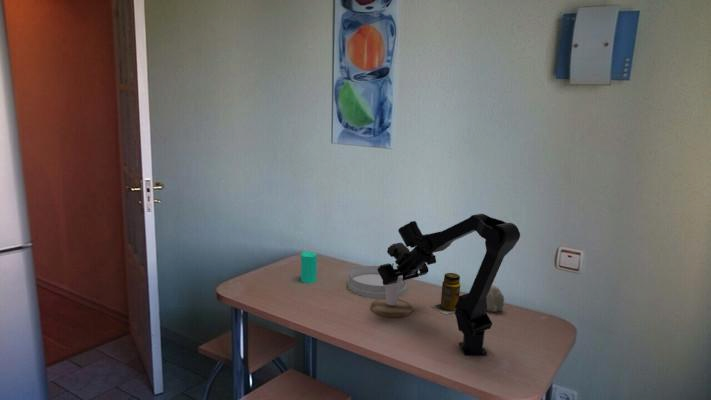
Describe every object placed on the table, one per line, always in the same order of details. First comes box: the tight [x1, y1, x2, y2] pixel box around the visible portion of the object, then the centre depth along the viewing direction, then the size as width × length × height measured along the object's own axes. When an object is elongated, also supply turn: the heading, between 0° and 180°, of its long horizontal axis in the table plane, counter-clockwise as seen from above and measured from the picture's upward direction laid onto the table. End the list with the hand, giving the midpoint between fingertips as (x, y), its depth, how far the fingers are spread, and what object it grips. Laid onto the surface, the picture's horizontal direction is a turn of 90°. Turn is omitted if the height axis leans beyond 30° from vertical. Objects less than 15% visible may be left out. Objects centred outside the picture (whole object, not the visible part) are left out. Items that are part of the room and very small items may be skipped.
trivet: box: [370, 298, 413, 319], centre depth 168 cm, size 14×14×1 cm
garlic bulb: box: [486, 284, 505, 312], centre depth 171 cm, size 9×8×10 cm
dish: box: [347, 265, 408, 299], centre depth 188 cm, size 22×22×5 cm
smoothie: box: [385, 262, 403, 305], centre depth 167 cm, size 6×6×14 cm
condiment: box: [430, 272, 461, 315], centre depth 170 cm, size 7×8×12 cm
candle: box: [300, 250, 318, 284], centre depth 191 cm, size 6×6×12 cm
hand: (390, 281), depth 168 cm, fingers closed on smoothie, 6 cm apart
